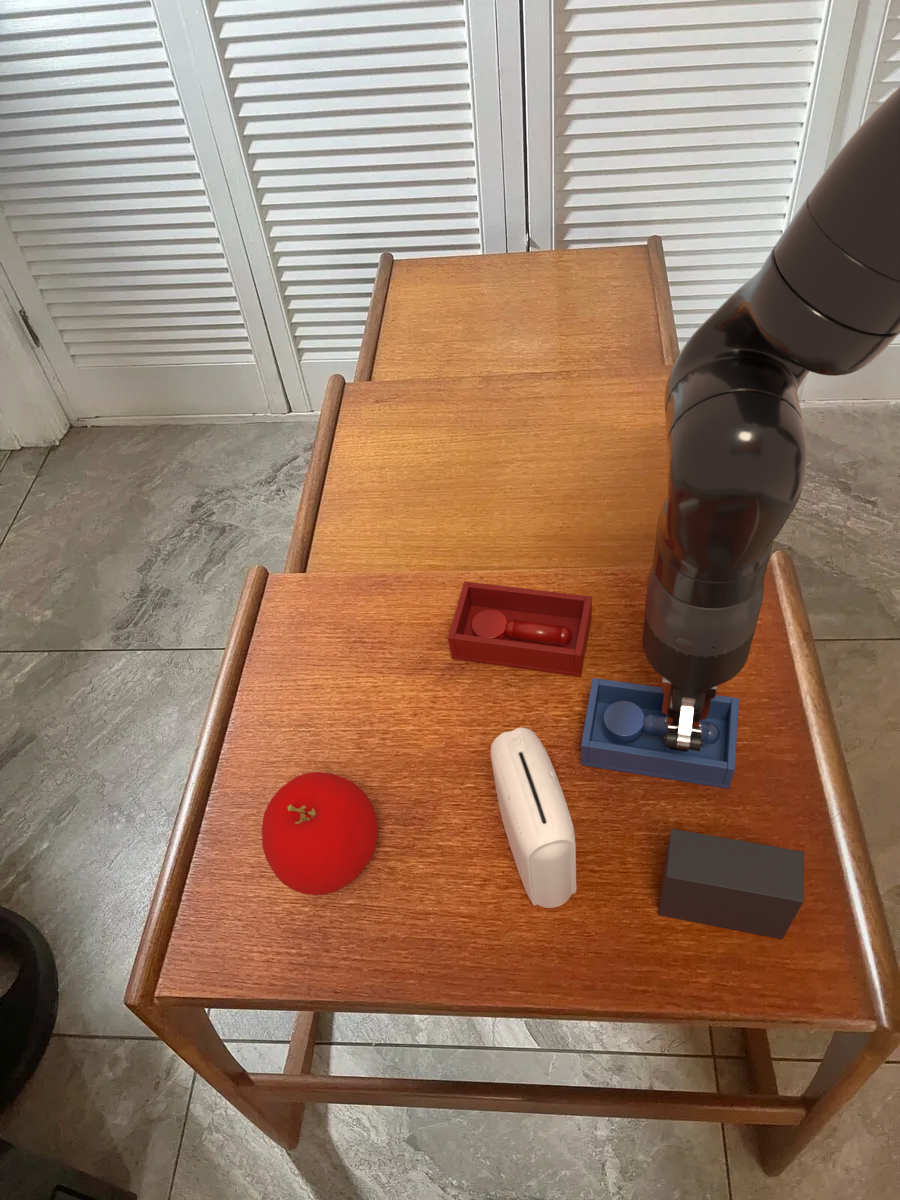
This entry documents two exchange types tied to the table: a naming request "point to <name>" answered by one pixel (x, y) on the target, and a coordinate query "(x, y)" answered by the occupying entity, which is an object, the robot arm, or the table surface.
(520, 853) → the photo printer
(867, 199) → the robot arm
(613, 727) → the blue spoon
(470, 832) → the table surface
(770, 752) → the table surface
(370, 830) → the fruit
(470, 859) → the table surface
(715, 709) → the blue bin
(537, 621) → the red bin
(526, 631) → the red spoon
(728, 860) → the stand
